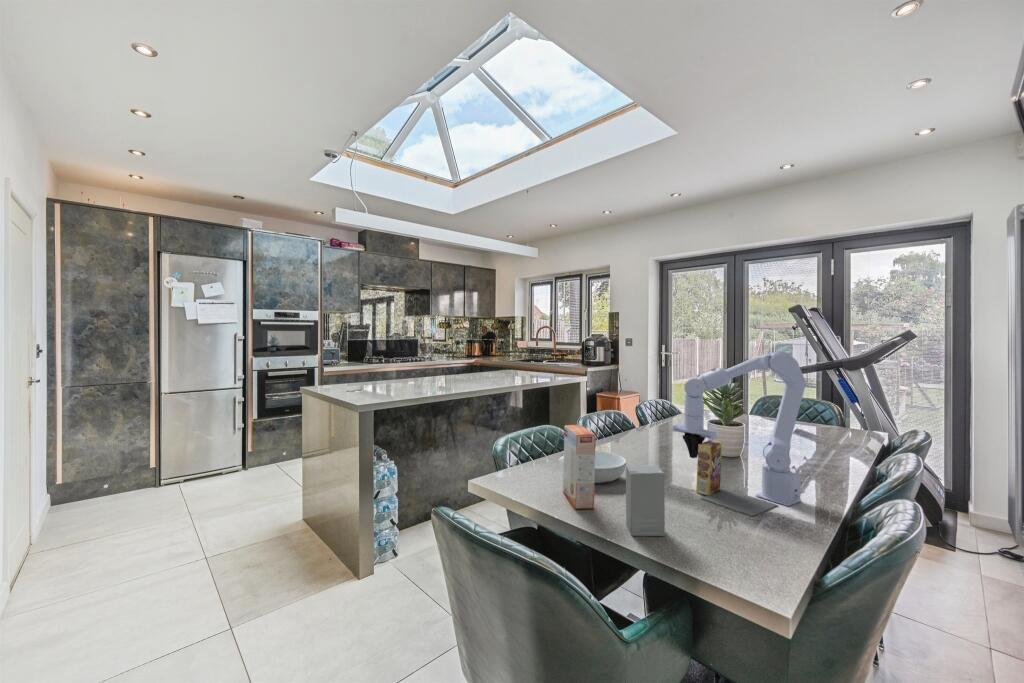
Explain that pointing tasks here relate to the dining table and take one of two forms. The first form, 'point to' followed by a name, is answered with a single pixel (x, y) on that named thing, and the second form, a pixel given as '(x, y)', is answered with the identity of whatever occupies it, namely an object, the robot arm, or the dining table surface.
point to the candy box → (709, 467)
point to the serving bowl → (608, 466)
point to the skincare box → (645, 500)
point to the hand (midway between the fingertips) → (693, 457)
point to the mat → (739, 502)
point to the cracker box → (579, 466)
